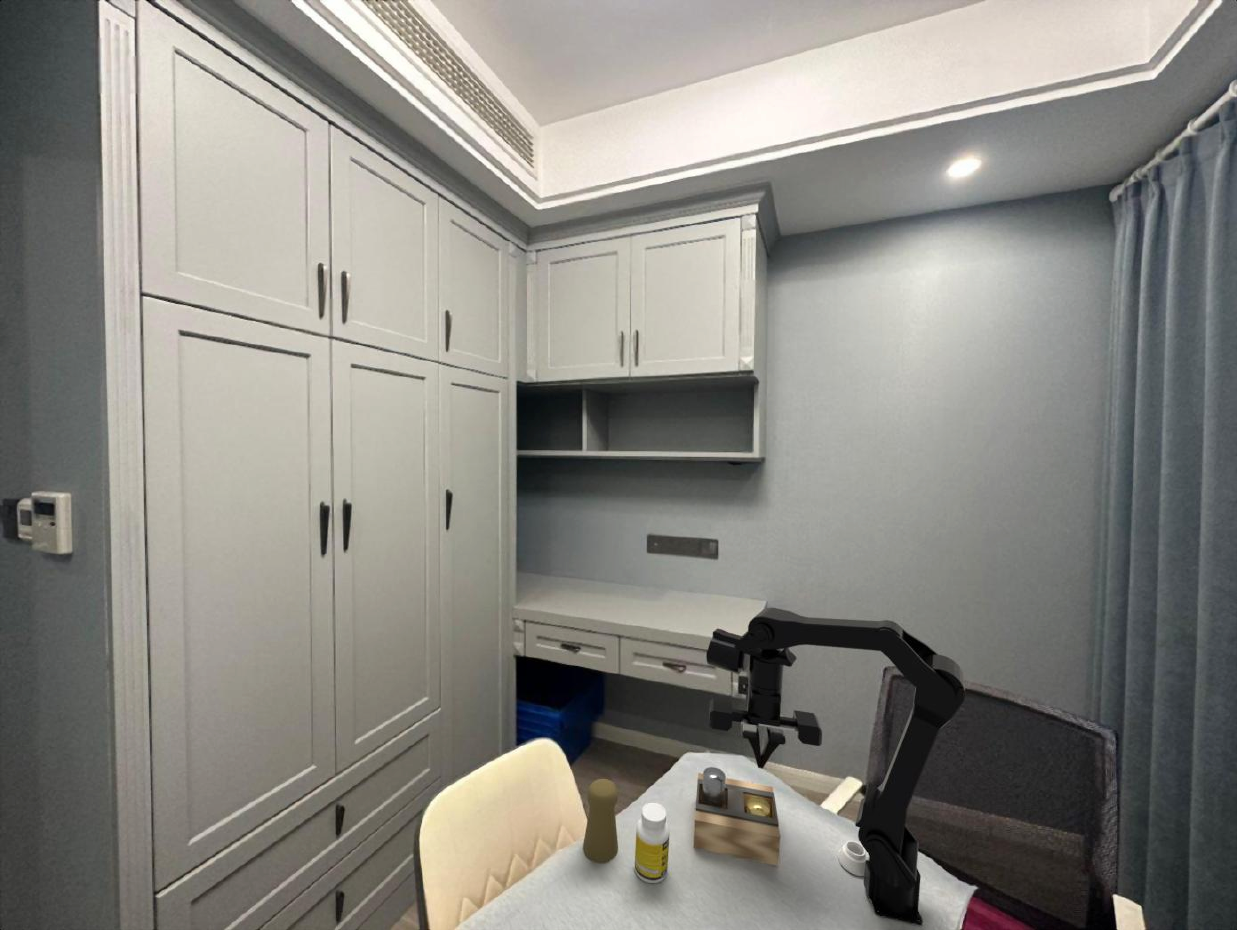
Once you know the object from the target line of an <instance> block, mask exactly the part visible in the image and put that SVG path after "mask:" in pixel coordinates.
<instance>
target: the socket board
mask: <svg viewBox="0 0 1237 930" xmlns="http://www.w3.org/2000/svg"><path fill="white" fill-rule="evenodd" d="M696 785H697V786H696V796H695V813H694V828H693V829H694V831H693V849H696V850H697V849H698V850H702V851H708V852H710V853H711V852H712V853H716V854H721V855H726V856H730V857H735V858H740V859H742V860H743V859H745V860H748V861H754V862H756V863H757V862H758V863H763V864H768V865H772V866H776V867H779V866H780V864H779V863H780V847H781V833H780V825H779V817H778V811H777V803H776V797H775V792H774V787H773V786H771V785H766V784H761V783H755V782H750V781H744V780H741V779H740V780H738V779H733V778H728V777H726V779H725V798H724V805H723V806H722V807H721V808H719V807H714V806H708V805H705V804H704V803H703V801H702V788H703V773H701V772H698V773H697V784H696ZM751 797H759V798H762V799H764V800H765V801H767V802H768V803H769V805H770V817H765V816H759V815H754V814H749V813H747V801H748V799H749V798H751Z"/></svg>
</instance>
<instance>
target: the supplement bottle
mask: <svg viewBox="0 0 1237 930" xmlns="http://www.w3.org/2000/svg"><path fill="white" fill-rule="evenodd" d="M670 832H671V831H670V826H669V823H668V822H667V811H666V809H665V807H664V806H663V805H661V804H659V803H656V802H650V803H649V802H648V803H646V804H645V805H643V807H642V809H641V816H640V819H638V821H637V823H636V831H635V833H636V834H635V849H634V850H635V851H634V871H635V873H636V876H637V877H638V878H639V879H640V880H641V881H643V882H646V883H647V884H658V883H660V882H661V881H663V880H664V879H665V878H666V876H667V873H668V868H669V867H668V865H669V852H670V850H669V849H670V834H671V833H670Z"/></svg>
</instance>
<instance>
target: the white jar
mask: <svg viewBox="0 0 1237 930" xmlns="http://www.w3.org/2000/svg"><path fill="white" fill-rule="evenodd" d="M837 859H838V862H839V864H840V865H841V866H842V867H843V868H844V869H845V870H846V871H848V872H849V873H850V874H853V875H855V876H859V877H864V871H865V861H866V860H869V854H868V853H867V851H866V850H865V849H864V848H863V846H862V844H861V843H859V842H857V841H855V840H847V841H846V842H845V843H844V845H843V846H842V847H841V848H840V849H839V851H838V856H837Z"/></svg>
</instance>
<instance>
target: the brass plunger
mask: <svg viewBox="0 0 1237 930" xmlns="http://www.w3.org/2000/svg"><path fill="white" fill-rule="evenodd" d="M747 813H749V814H754V815H759V816H765V817H770V805H769V803H768V802H767V801H765V800H764V799H762V798H759V797H751V798H749V799H748V801H747Z"/></svg>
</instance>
